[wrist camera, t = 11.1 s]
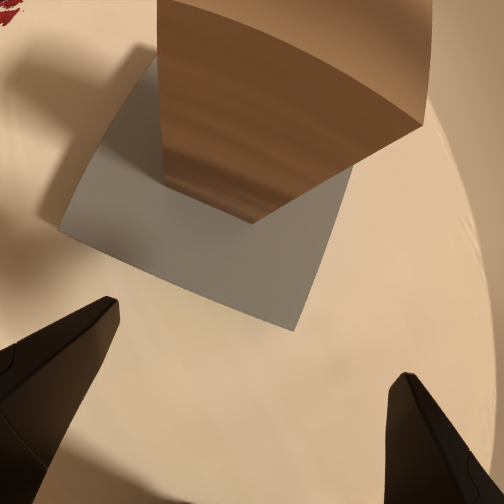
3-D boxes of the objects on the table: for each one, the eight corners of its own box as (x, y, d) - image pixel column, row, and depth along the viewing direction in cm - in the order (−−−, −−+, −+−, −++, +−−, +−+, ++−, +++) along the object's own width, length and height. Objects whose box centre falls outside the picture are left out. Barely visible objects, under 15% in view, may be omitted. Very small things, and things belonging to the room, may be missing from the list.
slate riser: (277, 323, 21) (293, 331, 18) (73, 236, 18) (57, 230, 15) (344, 140, 23) (365, 125, 20) (171, 59, 20) (173, 34, 17)
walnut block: (252, 224, 17) (423, 125, 5) (165, 186, 16) (156, -4, 4) (284, 146, 18) (432, -3, 5) (205, 110, 17) (263, -90, 5)
